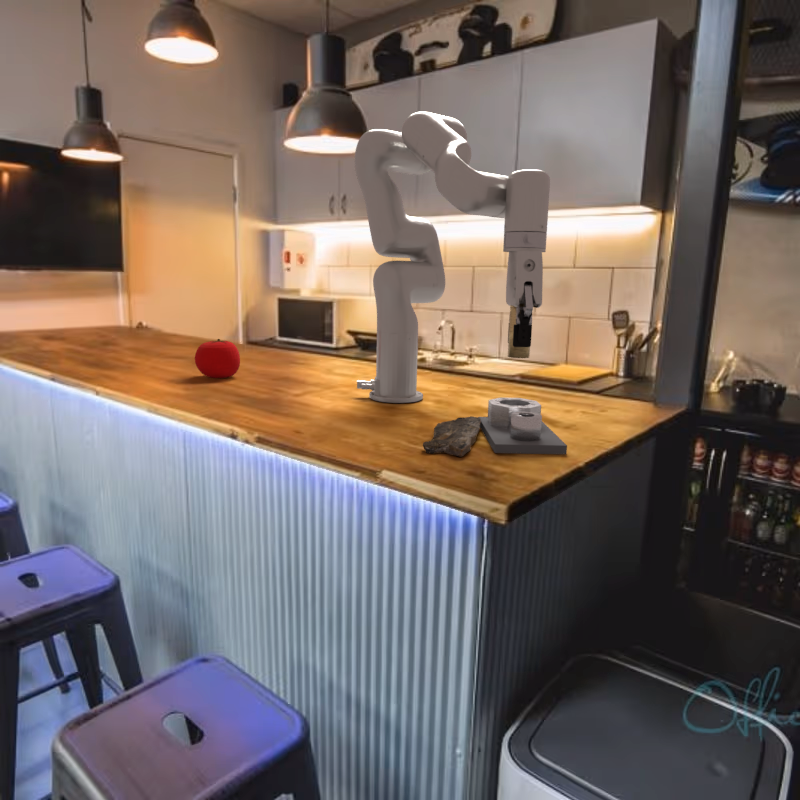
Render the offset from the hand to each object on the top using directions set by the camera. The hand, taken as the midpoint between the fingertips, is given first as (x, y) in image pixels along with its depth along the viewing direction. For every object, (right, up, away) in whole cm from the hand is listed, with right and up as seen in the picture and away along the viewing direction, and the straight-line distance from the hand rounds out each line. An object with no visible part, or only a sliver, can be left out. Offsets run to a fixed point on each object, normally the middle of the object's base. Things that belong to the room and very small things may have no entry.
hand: (518, 344), depth 114 cm
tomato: (-71, -4, +54) cm, 89 cm away
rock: (-12, -18, -4) cm, 22 cm away
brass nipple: (0, -2, 0) cm, 2 cm away
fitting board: (0, -17, -2) cm, 17 cm away
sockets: (0, -16, -1) cm, 16 cm away
